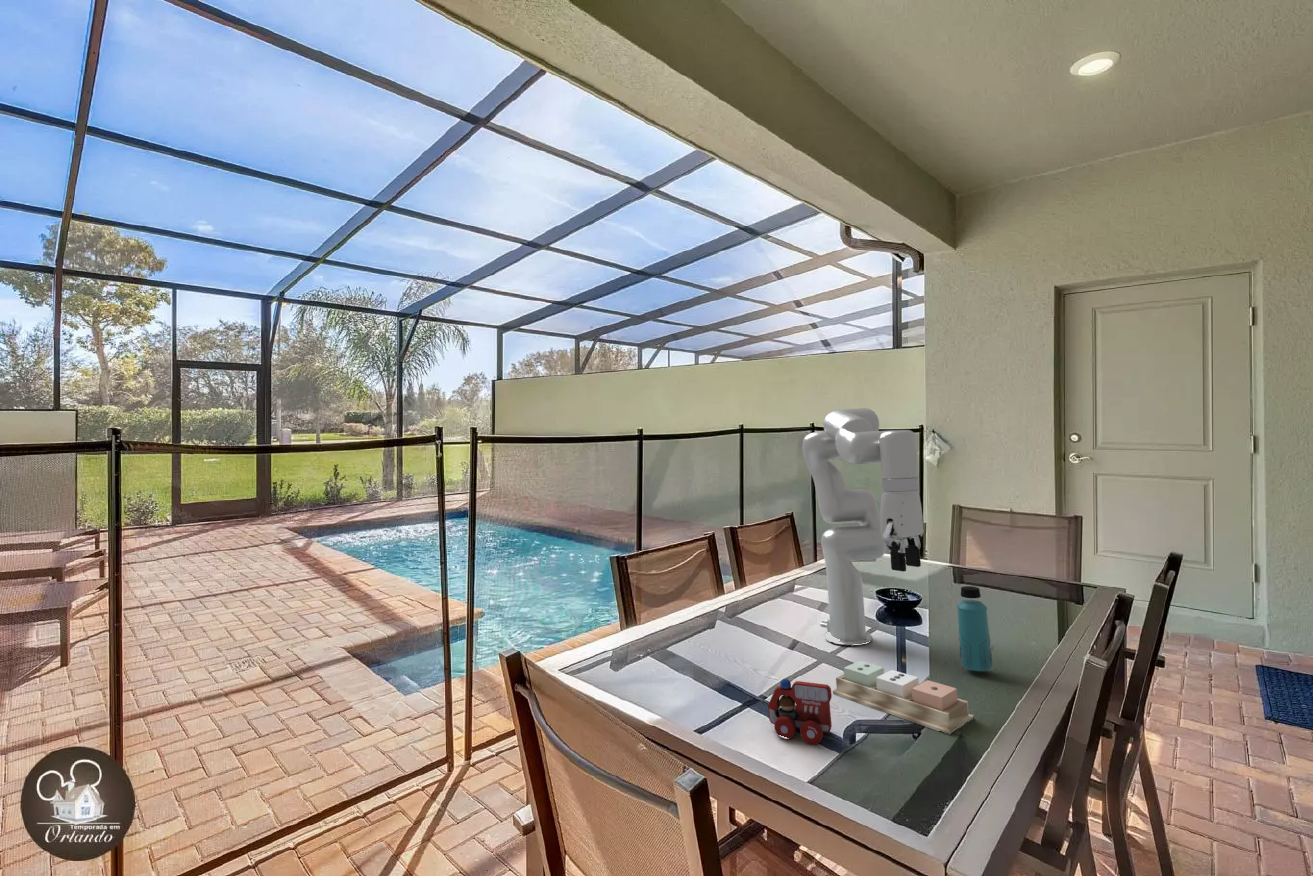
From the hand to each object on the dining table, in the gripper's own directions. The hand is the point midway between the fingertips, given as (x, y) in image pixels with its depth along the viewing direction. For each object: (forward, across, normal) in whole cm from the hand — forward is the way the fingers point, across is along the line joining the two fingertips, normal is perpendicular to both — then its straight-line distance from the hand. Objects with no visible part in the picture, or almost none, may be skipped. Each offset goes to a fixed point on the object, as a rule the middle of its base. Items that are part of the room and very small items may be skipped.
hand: (906, 567), depth 128 cm
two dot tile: (+25, +8, -7) cm, 27 cm away
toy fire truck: (+28, +32, -5) cm, 43 cm away
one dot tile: (+25, +8, +9) cm, 28 cm away
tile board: (+27, +8, +1) cm, 29 cm away
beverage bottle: (+28, -20, +4) cm, 34 cm away
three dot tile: (+25, +8, +1) cm, 26 cm away
